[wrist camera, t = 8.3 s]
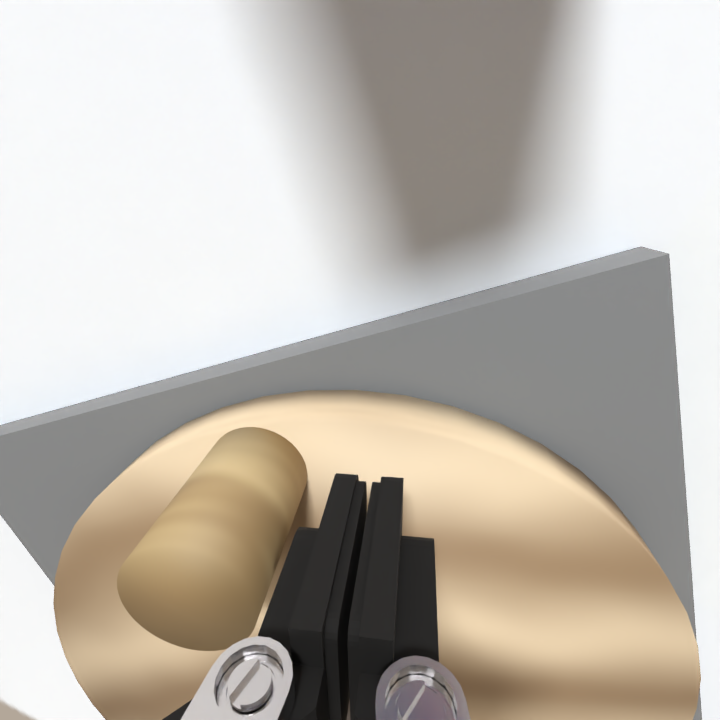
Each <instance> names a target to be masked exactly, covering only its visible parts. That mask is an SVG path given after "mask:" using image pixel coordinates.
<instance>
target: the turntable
mask: <svg viewBox="0 0 720 720" xmlns="http://www.w3.org/2000/svg"><path fill="white" fill-rule="evenodd" d="M336 473H340V474H354V475H358V477H359V481H366V485H367V510H368V504H369V498H370V492H371V486H372V482H380V481H381V477H382V476H383V477H397V478H404V482H403V520H402V536H412V537H423V538H434V545H435V570H436V596H437V622H438V648H439V663H441V664H442V665H443V666H445V667H446V668H447V669H448V670H449V671H450V672H452V674H453V675H454V677H455V678H456V679H457V681H458V682H459V684H460V685H461V688H462V690H463V693H464V696H465V699H466V702H467V706H468V711H469V715H470V720H693V717H694V715H695V712H696V709H697V703H698V696H699V688H700V681H701V675H700V664H699V653H698V645H697V642H696V639H695V636H694V633H693V629H692V626H691V623H690V620H689V617H688V614H687V612H686V610H685V608H684V606H683V604H682V603H681V601H680V599H679V597H678V595H677V594H676V592H675V590H674V588H673V586H672V585H671V583H670V581H669V579H668V578H667V576H666V574H665V573H664V571H663V570H662V568H661V567H660V565H659V564H658V562H657V561H656V559H655V558H654V556H653V554H652V553H651V551H650V550H649V548H648V547H647V545H646V544H645V542H644V541H643V539H642V538H641V536H640V535H639V533H638V531H637V530H636V528H635V527H634V526H633V525H632V523H631V522H630V521H629V520H628V518H627V517H626V516H625V515H624V514H623V512H622V511H621V510H620V509H619V507H618V506H617V505H616V504H615V502H614V501H613V500H612V499H611V498H610V497H609V496H608V495H607V494H606V493H605V492H604V491H603V490H601V489H600V488H599V487H598V486H597V485H596V484H595V483H594V482H593V481H592V480H590V479H589V478H588V477H587V476H586V475H585V474H584V473H583V472H582V471H581V470H579V469H578V468H576V467H575V466H573V465H572V464H570V463H569V462H568V461H566V460H565V459H563V458H562V457H560V456H559V455H557V454H556V453H554V452H553V451H551V450H550V449H548V448H547V447H545V446H544V445H542V444H541V443H539V442H537V441H535V440H533V439H531V438H529V437H527V436H525V435H523V434H521V433H519V432H517V431H515V430H513V429H511V428H509V427H507V426H505V425H503V424H501V423H498V422H496V421H493V420H490V419H487V418H484V417H482V416H479V415H476V414H473V413H470V412H468V411H465V410H462V409H459V408H457V407H454V406H450V405H445V404H441V403H436V402H432V401H428V400H423V399H419V398H415V397H410V396H406V395H398V394H389V393H380V392H371V391H362V390H307V391H300V392H292V393H285V394H277V395H269V396H263V397H259V398H255V399H252V400H248V401H244V402H240V403H237V404H233V405H229V406H225V407H222V408H220V409H217V410H215V411H213V412H210V413H208V414H206V415H203V416H201V417H199V418H196V419H194V420H191V421H189V422H187V423H185V424H183V425H182V426H180V427H179V428H177V429H175V430H174V431H172V432H171V433H169V434H167V435H166V436H164V437H162V438H161V439H159V440H158V441H156V442H155V443H154V444H153V445H152V446H150V447H149V448H148V449H147V450H146V451H145V452H144V453H142V454H141V455H140V456H139V457H138V458H137V459H136V460H134V461H133V462H132V463H131V464H130V465H129V466H128V467H127V468H126V469H125V470H124V471H123V472H122V473H121V474H120V475H119V476H118V477H117V478H116V479H115V480H114V481H113V482H112V483H111V484H110V485H109V486H108V487H107V488H106V489H105V490H104V491H103V492H102V493H100V494H99V495H98V496H97V497H96V498H95V499H94V501H93V502H92V503H91V505H90V506H89V507H88V508H87V510H86V511H85V512H84V513H83V515H82V516H81V517H80V519H79V520H78V521H77V522H76V524H75V525H74V527H73V529H72V531H71V533H70V535H69V537H68V539H67V541H66V543H65V545H64V547H63V550H62V552H61V556H60V560H59V564H58V568H57V572H56V575H55V586H54V611H55V618H56V626H57V632H58V635H59V638H60V641H61V644H62V648H63V651H64V654H65V657H66V659H67V661H68V663H69V665H70V667H71V669H72V671H73V673H74V675H75V677H76V679H77V681H78V683H79V684H80V686H81V687H82V689H83V690H84V692H85V693H86V695H87V696H88V698H89V699H90V701H91V702H92V704H93V705H94V706H95V707H96V709H97V710H98V711H99V712H100V713H101V715H102V716H103V717H104V718H105V719H106V720H162V719H164V718H165V717H167V716H168V715H170V714H171V713H172V712H174V711H175V710H177V709H178V708H180V707H181V706H183V705H184V704H186V703H187V702H189V701H190V700H192V699H193V698H194V696H195V694H196V693H197V691H198V689H199V687H200V686H201V684H202V682H203V681H204V679H205V677H206V675H207V674H208V672H209V670H210V669H211V667H212V666H213V664H214V663H215V662H216V660H217V659H218V658H219V656H220V655H221V654H222V653H223V652H224V651H225V650H227V649H228V648H229V647H230V646H232V645H233V644H235V643H237V642H239V641H241V640H243V639H246V638H251V637H256V636H258V633H259V631H260V628H261V625H262V622H263V620H264V617H265V614H266V612H267V609H268V606H269V603H270V601H271V598H272V595H273V592H274V590H275V587H276V584H277V582H278V579H279V576H280V573H281V571H282V568H283V565H284V563H285V560H286V557H287V554H288V552H289V549H290V546H291V543H292V541H293V538H294V535H295V533H296V531H297V529H298V528H299V527H309V528H319V526H320V522H321V519H322V516H323V512H324V509H325V506H326V502H327V499H328V496H329V493H330V489H331V486H332V483H333V479H334V476H335V474H336ZM347 720H350V699H349V707H348V714H347Z"/></svg>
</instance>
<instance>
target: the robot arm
mask: <svg viewBox="0 0 720 720" xmlns="http://www.w3.org/2000/svg"><path fill="white" fill-rule="evenodd" d="M403 482H404V478H397V477H383V476H382V477H381V481H380V482H372V486H371V492H370V498H369V504H368V510H367V485H366V481H359V477H358V475H354V474H340V473H336V474H335V476H334V479H333V483H332V486H331V489H330V493H329V496H328V499H327V502H326V506H325V509H324V512H323V516H322V519H321V522H320V526H319V528H309V527H299V528H298V529H297V531H296V533H295V535H294V538H293V541H292V543H291V546H290V549H289V552H288V554H287V557H286V560H285V563H284V565H283V568H282V571H281V573H280V576H279V579H278V582H277V584H276V587H275V590H274V592H273V595H272V598H271V601H270V603H269V606H268V609H267V612H266V614H265V617H264V620H263V622H262V625H261V628H260V631H259V633H258V636H256V637H251V638H246V639H243V640H241V641H239V642H237V643H235V644H233V645H232V646H230V647H229V648H228V649H227V650H225V651H224V652H223V653H222V654H221V655H220V656H219V658H218V659H217V660H216V662H215V663H214V664H213V666H212V667H211V669H210V670H209V672H208V674H207V675H206V677H205V679H204V681H203V682H202V684H201V686H200V687H199V689H198V691H197V693H196V694H195V696H194V698H193V699H192V700H190V701H189V702H187V703H186V704H184V705H183V706H181V707H180V708H178V709H177V710H175V711H174V712H172V713H171V714H170V715H168V716H167V717H165V718H164V719H162V720H347V714H348V707H349V699H350V720H470V715H469V711H468V706H467V702H466V699H465V696H464V693H463V690H462V688H461V685H460V684H459V682H458V681H457V679H456V678H455V677H454V675H453V674H452V672H450V671H449V670H448V669H447V668H446V667H445V666H443V665H442V664H441V663H439V648H438V622H437V596H436V570H435V545H434V538H423V537H412V536H402V520H403Z"/></svg>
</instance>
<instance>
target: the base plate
mask: <svg viewBox="0 0 720 720" xmlns="http://www.w3.org/2000/svg"><path fill="white" fill-rule="evenodd" d="M307 390H362V391H371V392H380V393H389V394H398V395H406V396H410V397H415V398H419V399H423V400H428V401H432V402H436V403H441V404H445V405H450V406H454V407H457V408H459V409H462V410H465V411H468V412H470V413H473V414H476V415H479V416H482V417H484V418H487V419H490V420H493V421H496V422H498V423H501V424H503V425H505V426H507V427H509V428H511V429H513V430H515V431H517V432H519V433H521V434H523V435H525V436H527V437H529V438H531V439H533V440H535V441H537V442H539V443H541V444H542V445H544V446H545V447H547V448H548V449H550V450H551V451H553V452H554V453H556V454H557V455H559V456H560V457H562V458H563V459H565V460H566V461H568V462H569V463H570V464H572V465H573V466H575V467H576V468H578V469H579V470H581V471H582V472H583V473H584V474H585V475H586V476H587V477H588V478H589V479H590V480H592V481H593V482H594V483H595V484H596V485H597V486H598V487H599V488H600V489H601V490H603V491H604V492H605V493H606V494H607V495H608V496H609V497H610V498H611V499H612V500H613V501H614V502H615V504H616V505H617V506H618V507H619V509H620V510H621V511H622V512H623V514H624V515H625V516H626V517H627V518H628V520H629V521H630V522H631V523H632V525H633V526H634V527H635V528H636V530H637V531H638V533H639V535H640V536H641V538H642V539H643V541H644V542H645V544H646V545H647V547H648V548H649V550H650V551H651V553H652V554H653V556H654V558H655V559H656V561H657V562H658V564H659V565H660V567H661V568H662V570H663V571H664V573H665V574H666V576H667V578H668V579H669V581H670V583H671V585H672V586H673V588H674V590H675V592H676V594H677V595H678V597H679V599H680V601H681V603H682V604H683V606H684V608H685V610H686V612H687V614H688V617H689V620H690V623H691V626H692V629H693V633H694V636H695V639H696V628H695V614H694V600H693V586H692V571H691V557H690V543H689V529H688V515H687V500H686V486H685V472H684V458H683V444H682V430H681V415H680V401H679V387H678V373H677V359H676V345H675V330H674V316H673V302H672V288H671V274H670V259H669V254H668V253H664V252H660V251H656V250H652V249H648V248H645V247H638V248H634V249H631V250H627V251H623V252H620V253H616V254H613V255H609V256H605V257H602V258H598V259H595V260H591V261H588V262H584V263H580V264H577V265H573V266H570V267H566V268H562V269H559V270H555V271H552V272H548V273H545V274H541V275H537V276H534V277H530V278H527V279H523V280H519V281H516V282H512V283H509V284H505V285H502V286H498V287H494V288H491V289H487V290H484V291H480V292H476V293H473V294H469V295H466V296H462V297H458V298H455V299H451V300H448V301H444V302H441V303H437V304H433V305H430V306H426V307H423V308H419V309H415V310H412V311H408V312H405V313H401V314H398V315H394V316H390V317H387V318H383V319H380V320H376V321H372V322H369V323H365V324H362V325H358V326H355V327H351V328H347V329H344V330H340V331H337V332H333V333H329V334H326V335H322V336H319V337H315V338H311V339H308V340H304V341H301V342H297V343H294V344H290V345H286V346H283V347H279V348H276V349H272V350H268V351H265V352H261V353H258V354H254V355H251V356H247V357H243V358H240V359H236V360H233V361H229V362H225V363H222V364H218V365H215V366H211V367H207V368H204V369H200V370H197V371H193V372H190V373H186V374H182V375H179V376H175V377H172V378H168V379H164V380H161V381H157V382H154V383H150V384H147V385H143V386H139V387H136V388H132V389H129V390H125V391H121V392H118V393H114V394H111V395H107V396H104V397H100V398H96V399H93V400H89V401H86V402H82V403H78V404H75V405H71V406H68V407H64V408H60V409H57V410H53V411H50V412H46V413H43V414H39V415H35V416H32V417H28V418H25V419H21V420H17V421H14V422H10V423H7V424H3V425H0V515H1V516H2V517H3V519H4V520H5V521H6V523H7V524H8V525H9V527H10V528H11V529H12V531H13V532H14V533H15V535H16V536H17V537H18V538H19V540H20V541H21V542H22V544H23V545H24V546H25V548H26V549H27V550H28V552H29V553H30V554H31V556H32V557H33V558H34V560H35V561H36V562H37V564H38V565H39V566H40V568H41V569H42V570H43V572H44V573H45V574H46V575H47V577H48V578H49V579H50V581H51V582H52V583H53V585H54V586H55V575H56V572H57V568H58V564H59V560H60V556H61V552H62V550H63V547H64V545H65V543H66V541H67V539H68V537H69V535H70V533H71V531H72V529H73V527H74V525H75V524H76V522H77V521H78V520H79V519H80V517H81V516H82V515H83V513H84V512H85V511H86V510H87V508H88V507H89V506H90V505H91V503H92V502H93V501H94V499H95V498H96V497H97V496H98V495H99V494H100V493H102V492H103V491H104V490H105V489H106V488H107V487H108V486H109V485H110V484H111V483H112V482H113V481H114V480H115V479H116V478H117V477H118V476H119V475H120V474H121V473H122V472H123V471H124V470H125V469H126V468H127V467H128V466H129V465H130V464H131V463H132V462H133V461H134V460H136V459H137V458H138V457H139V456H140V455H141V454H142V453H144V452H145V451H146V450H147V449H148V448H149V447H150V446H152V445H153V444H154V443H155V442H156V441H158V440H159V439H161V438H162V437H164V436H166V435H167V434H169V433H171V432H172V431H174V430H175V429H177V428H179V427H180V426H182V425H183V424H185V423H187V422H189V421H191V420H194V419H196V418H199V417H201V416H203V415H206V414H208V413H210V412H213V411H215V410H217V409H220V408H222V407H225V406H229V405H233V404H237V403H240V402H244V401H248V400H252V399H255V398H259V397H263V396H269V395H277V394H285V393H292V392H300V391H307ZM693 720H702V713H701V699H700V688H699V696H698V703H697V709H696V712H695V715H694V717H693Z"/></svg>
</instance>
